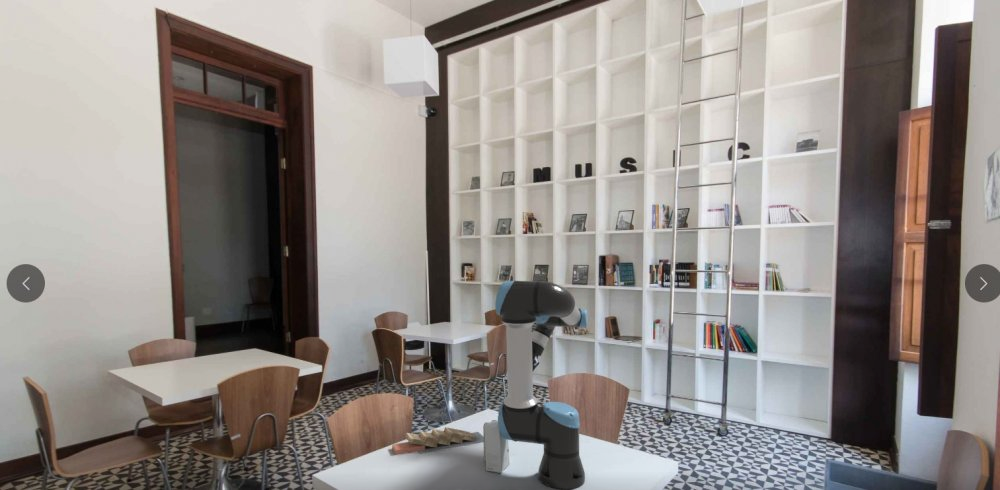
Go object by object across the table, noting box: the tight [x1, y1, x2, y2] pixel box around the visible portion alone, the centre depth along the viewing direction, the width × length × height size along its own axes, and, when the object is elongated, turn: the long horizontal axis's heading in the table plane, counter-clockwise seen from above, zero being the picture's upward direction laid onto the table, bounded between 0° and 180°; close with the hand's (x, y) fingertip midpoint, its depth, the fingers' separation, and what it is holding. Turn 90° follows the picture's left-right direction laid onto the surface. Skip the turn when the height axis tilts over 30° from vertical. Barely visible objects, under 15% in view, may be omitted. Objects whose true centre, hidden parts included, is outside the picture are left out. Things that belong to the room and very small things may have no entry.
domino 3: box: [418, 430, 451, 445], centre depth 171 cm, size 2×6×11 cm
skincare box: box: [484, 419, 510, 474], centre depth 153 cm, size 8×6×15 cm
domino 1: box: [391, 441, 425, 456], centre depth 166 cm, size 2×6×11 cm
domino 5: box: [443, 426, 475, 441], centre depth 175 cm, size 2×6×11 cm
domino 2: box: [405, 432, 437, 447], centre depth 169 cm, size 2×6×11 cm
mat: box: [417, 431, 484, 454], centre depth 174 cm, size 28×11×1 cm, turn 115°
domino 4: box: [431, 428, 463, 443], centre depth 173 cm, size 2×6×11 cm
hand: (511, 395), depth 182 cm, fingers closed
